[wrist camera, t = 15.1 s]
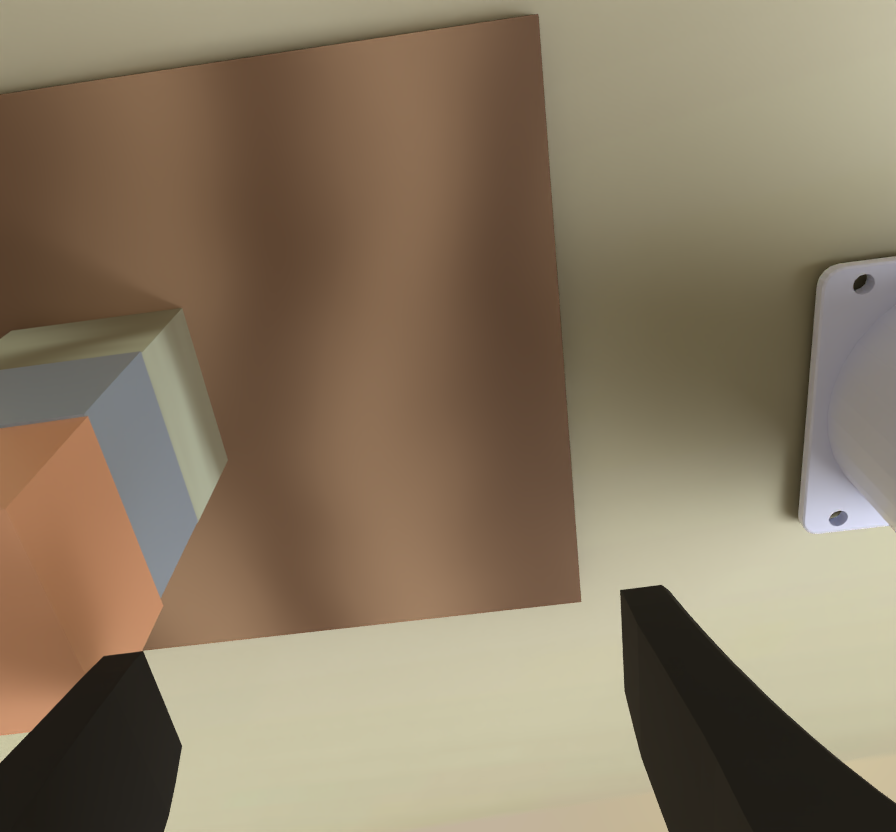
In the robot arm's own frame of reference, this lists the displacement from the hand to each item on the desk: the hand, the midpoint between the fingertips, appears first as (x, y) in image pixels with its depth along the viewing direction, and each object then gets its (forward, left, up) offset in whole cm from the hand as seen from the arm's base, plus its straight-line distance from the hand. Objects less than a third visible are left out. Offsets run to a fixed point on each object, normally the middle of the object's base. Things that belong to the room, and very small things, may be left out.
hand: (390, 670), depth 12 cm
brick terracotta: (+7, -1, -4) cm, 8 cm away
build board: (+3, 0, -10) cm, 11 cm away
